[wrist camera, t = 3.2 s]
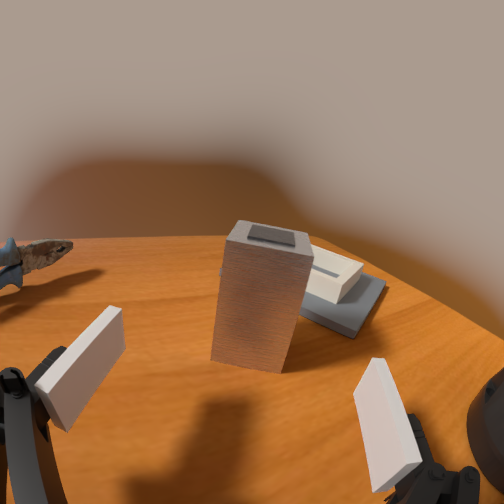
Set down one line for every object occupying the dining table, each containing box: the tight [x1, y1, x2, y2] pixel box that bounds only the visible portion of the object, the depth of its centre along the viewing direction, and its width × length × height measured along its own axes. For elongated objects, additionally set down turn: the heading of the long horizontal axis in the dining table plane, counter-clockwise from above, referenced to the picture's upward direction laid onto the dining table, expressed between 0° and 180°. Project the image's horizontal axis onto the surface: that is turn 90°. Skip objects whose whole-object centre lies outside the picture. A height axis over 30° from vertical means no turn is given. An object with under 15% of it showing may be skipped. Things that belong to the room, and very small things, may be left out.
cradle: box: [219, 245, 386, 339], centre depth 38 cm, size 18×18×4 cm
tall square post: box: [210, 220, 314, 374], centre depth 22 cm, size 6×6×10 cm
